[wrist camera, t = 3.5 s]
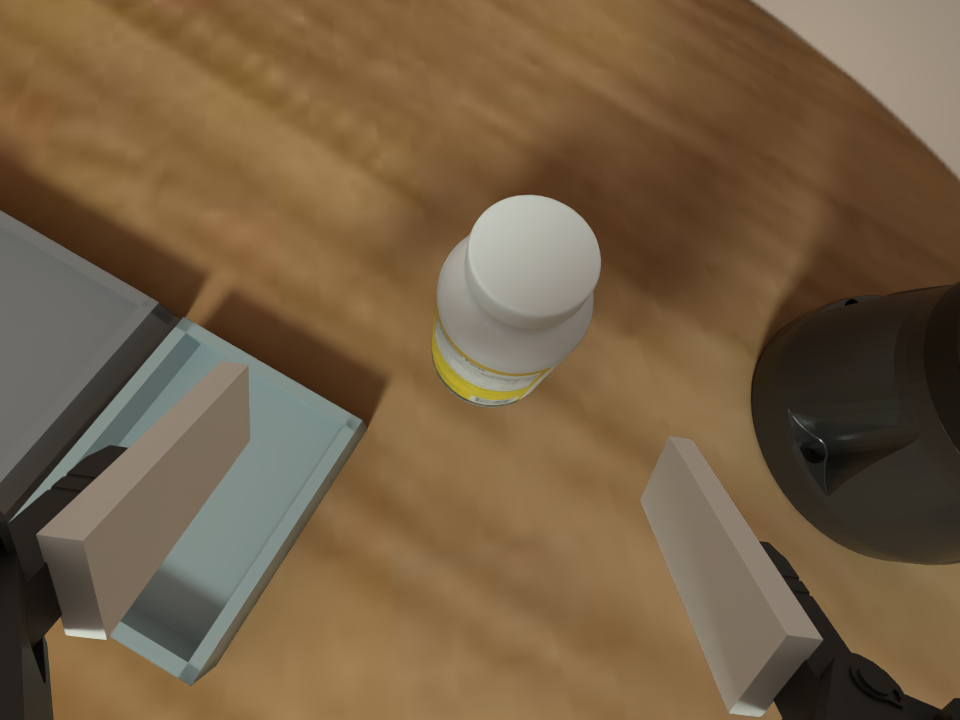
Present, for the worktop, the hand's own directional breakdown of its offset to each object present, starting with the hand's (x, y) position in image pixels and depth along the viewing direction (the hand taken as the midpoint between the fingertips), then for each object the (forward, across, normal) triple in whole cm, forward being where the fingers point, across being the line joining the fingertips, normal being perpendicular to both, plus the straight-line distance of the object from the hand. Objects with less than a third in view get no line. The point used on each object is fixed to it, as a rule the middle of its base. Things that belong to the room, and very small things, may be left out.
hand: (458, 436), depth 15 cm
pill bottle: (+12, +2, -3) cm, 13 cm away
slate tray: (+6, -11, -9) cm, 15 cm away
